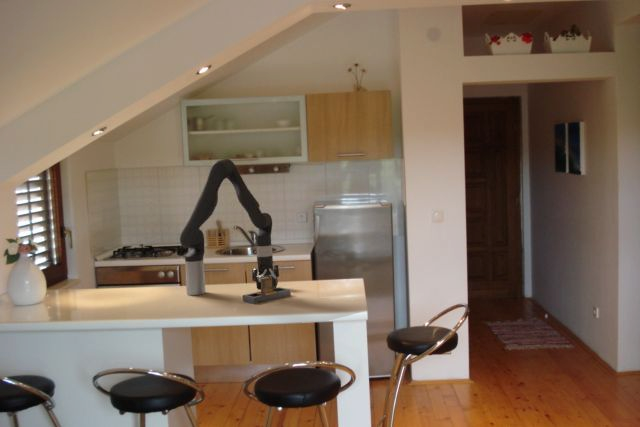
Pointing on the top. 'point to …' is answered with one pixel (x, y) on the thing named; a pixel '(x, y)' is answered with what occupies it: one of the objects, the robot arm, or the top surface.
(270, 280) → the walnut peg
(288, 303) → the top surface
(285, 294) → the grey compartment tray
